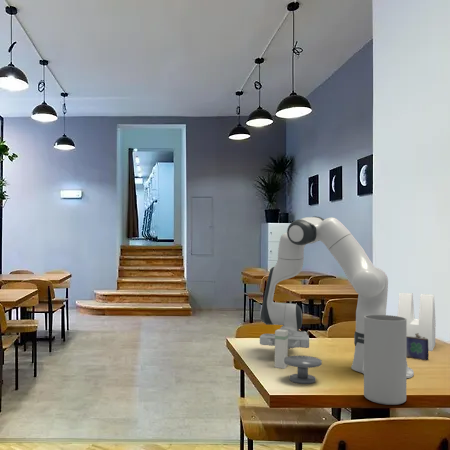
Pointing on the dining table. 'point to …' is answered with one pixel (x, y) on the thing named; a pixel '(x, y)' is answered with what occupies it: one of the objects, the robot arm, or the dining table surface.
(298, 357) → the pedestal
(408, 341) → the flask
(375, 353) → the cylinder vase
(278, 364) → the column
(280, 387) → the dining table surface
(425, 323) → the white u-shaped block
